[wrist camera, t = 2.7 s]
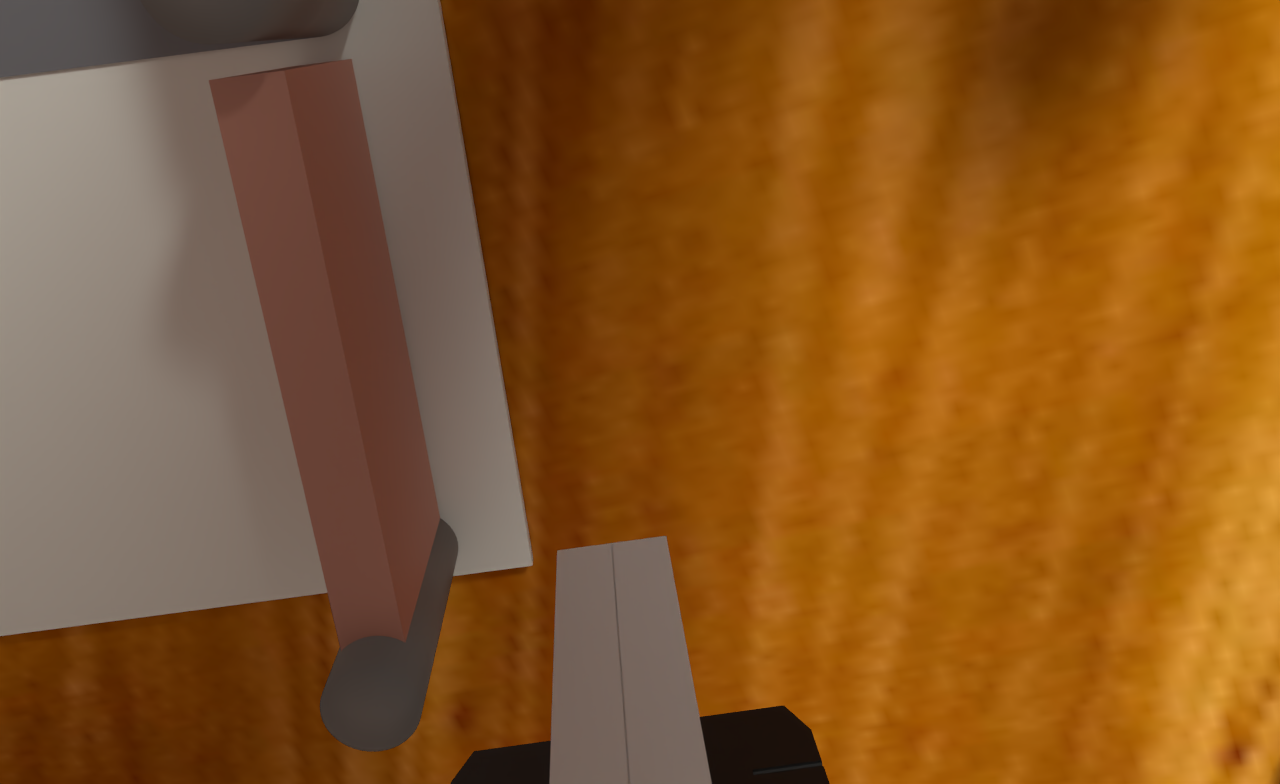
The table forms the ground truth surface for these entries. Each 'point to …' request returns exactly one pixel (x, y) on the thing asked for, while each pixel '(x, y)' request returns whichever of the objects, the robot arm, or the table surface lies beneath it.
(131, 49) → the card
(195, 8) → the fence fixed
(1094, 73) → the table surface
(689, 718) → the robot arm
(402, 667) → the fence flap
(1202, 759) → the table surface
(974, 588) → the table surface
